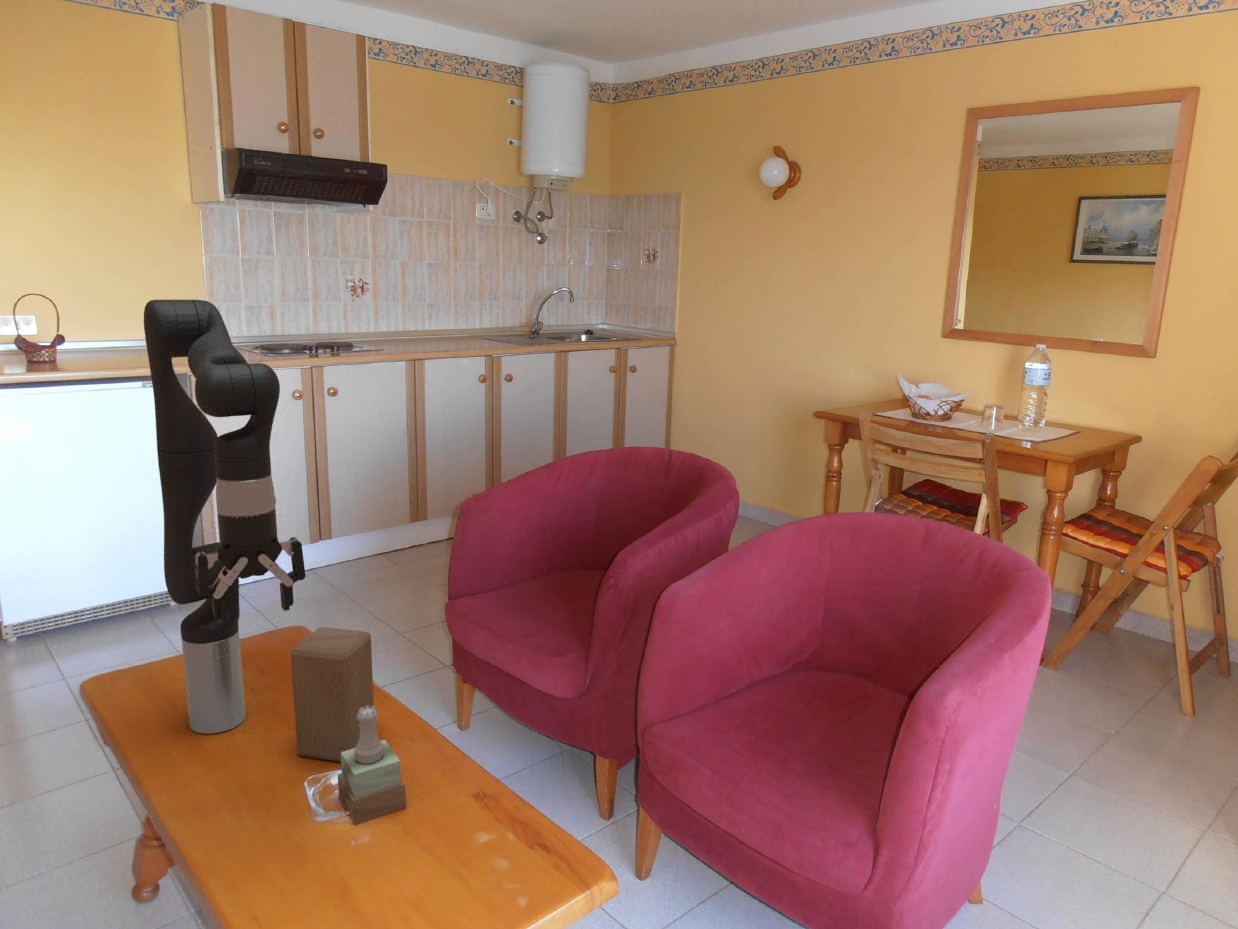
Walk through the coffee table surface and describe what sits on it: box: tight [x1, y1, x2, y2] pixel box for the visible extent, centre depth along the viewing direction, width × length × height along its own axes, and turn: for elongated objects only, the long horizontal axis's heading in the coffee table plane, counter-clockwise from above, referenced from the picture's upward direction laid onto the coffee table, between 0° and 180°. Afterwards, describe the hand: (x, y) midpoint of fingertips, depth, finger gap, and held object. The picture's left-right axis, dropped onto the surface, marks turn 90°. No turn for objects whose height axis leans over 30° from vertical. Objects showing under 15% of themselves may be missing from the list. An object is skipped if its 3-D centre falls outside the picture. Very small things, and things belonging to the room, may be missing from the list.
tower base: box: [337, 739, 407, 826], centre depth 133 cm, size 8×8×8 cm
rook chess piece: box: [354, 705, 384, 764], centre depth 131 cm, size 4×4×8 cm
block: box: [290, 626, 375, 763], centre depth 147 cm, size 10×10×20 cm
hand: (254, 614), depth 124 cm, fingers open, 8 cm apart
